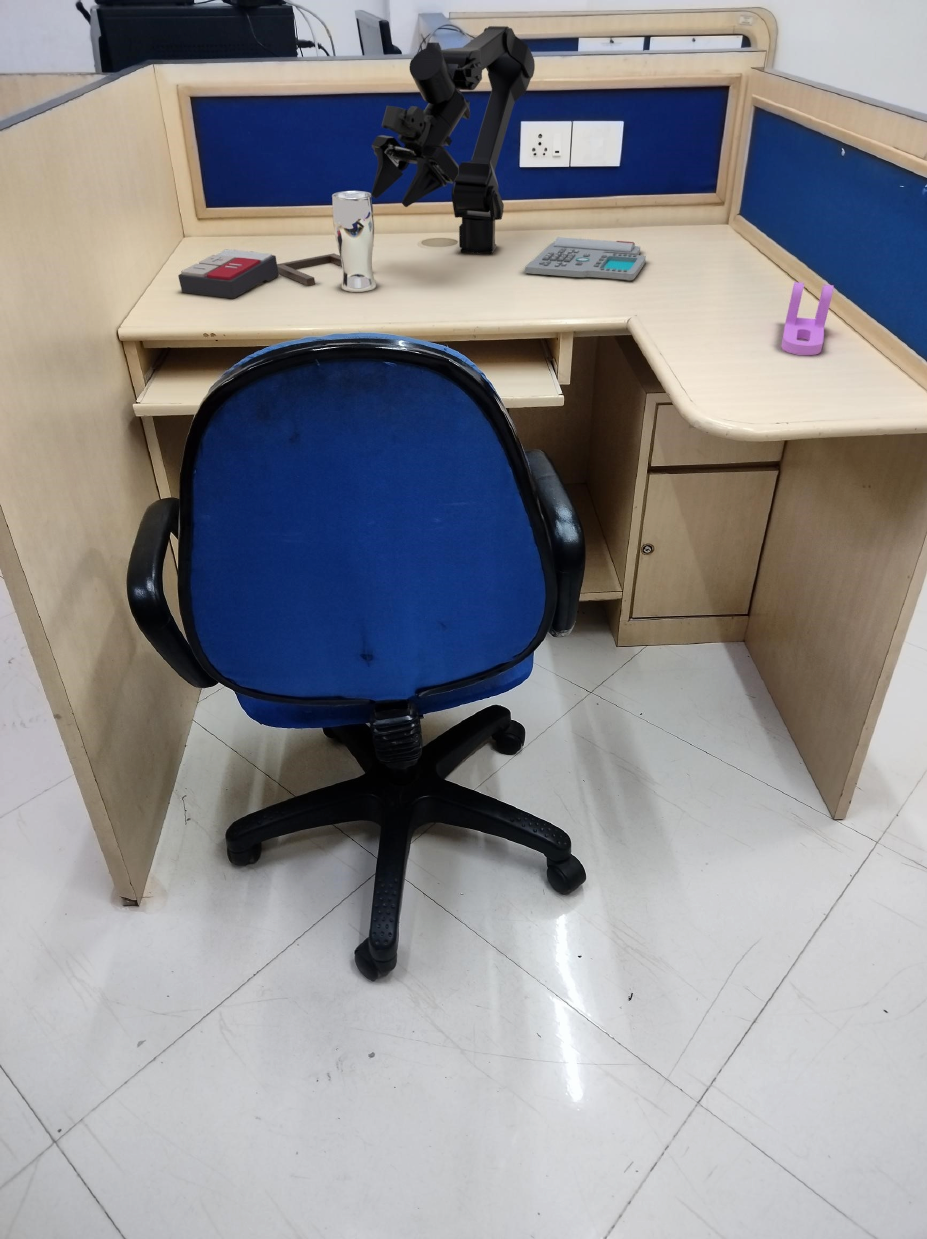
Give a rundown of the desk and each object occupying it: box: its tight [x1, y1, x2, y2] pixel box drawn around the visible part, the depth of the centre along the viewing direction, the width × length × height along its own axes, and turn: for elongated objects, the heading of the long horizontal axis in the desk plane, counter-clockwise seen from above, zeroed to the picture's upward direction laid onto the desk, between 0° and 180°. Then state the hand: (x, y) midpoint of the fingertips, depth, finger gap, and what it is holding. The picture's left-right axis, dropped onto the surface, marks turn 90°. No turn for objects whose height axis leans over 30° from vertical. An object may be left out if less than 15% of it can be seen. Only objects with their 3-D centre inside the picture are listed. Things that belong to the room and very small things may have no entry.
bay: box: [277, 253, 342, 287], centre depth 158 cm, size 12×13×1 cm
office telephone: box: [524, 236, 647, 281], centre depth 162 cm, size 23×3×20 cm
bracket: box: [780, 281, 835, 356], centre depth 125 cm, size 13×6×7 cm, turn 160°
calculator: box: [177, 248, 279, 299], centre depth 151 cm, size 11×4×15 cm
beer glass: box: [331, 190, 377, 293], centre depth 146 cm, size 7×7×15 cm
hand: (388, 200), depth 146 cm, fingers open, 9 cm apart
